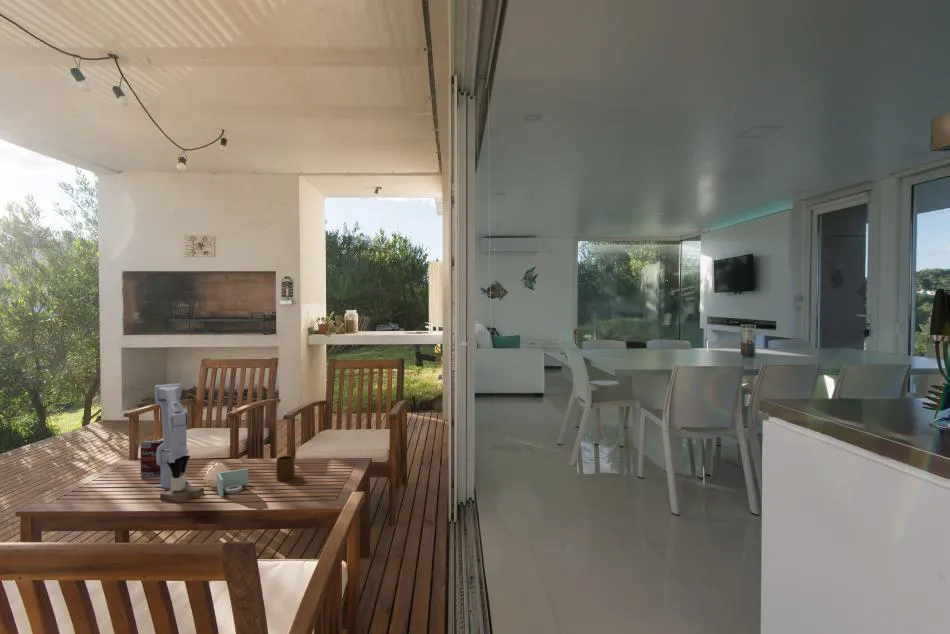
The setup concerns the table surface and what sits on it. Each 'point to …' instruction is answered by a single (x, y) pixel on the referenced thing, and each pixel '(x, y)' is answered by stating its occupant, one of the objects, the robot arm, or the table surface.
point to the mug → (285, 468)
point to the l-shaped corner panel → (232, 481)
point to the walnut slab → (182, 494)
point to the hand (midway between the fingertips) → (178, 476)
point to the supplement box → (150, 459)
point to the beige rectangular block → (178, 482)
